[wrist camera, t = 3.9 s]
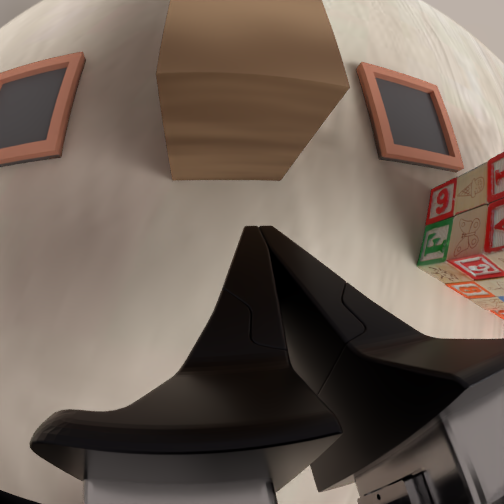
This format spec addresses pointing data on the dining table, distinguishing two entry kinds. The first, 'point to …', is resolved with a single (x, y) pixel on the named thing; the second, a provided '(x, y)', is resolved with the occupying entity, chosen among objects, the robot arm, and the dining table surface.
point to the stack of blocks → (468, 235)
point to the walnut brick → (245, 85)
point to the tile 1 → (37, 108)
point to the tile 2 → (408, 119)
